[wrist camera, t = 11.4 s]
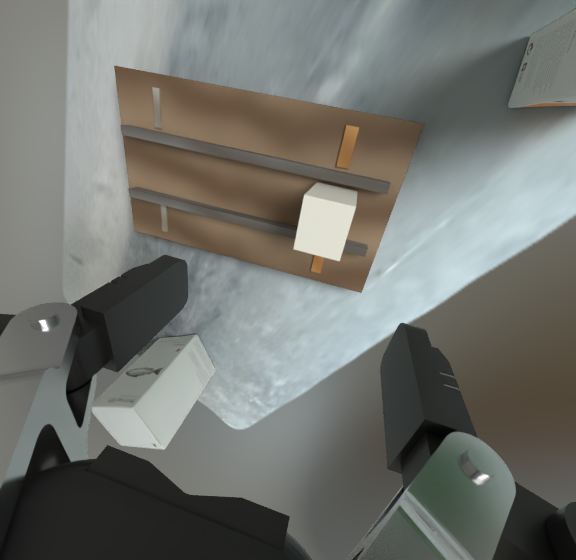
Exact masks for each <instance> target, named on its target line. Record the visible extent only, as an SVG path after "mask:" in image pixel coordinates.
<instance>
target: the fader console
mask: <svg viewBox="0 0 576 560" xmlns="http://www.w3.org/2000/svg"><path fill="white" fill-rule="evenodd" d="M114 68H115V76H116V84H117V92H118V100H119V108H120V116H121V124H122V125H121V130H122V135H123V140H124V148H125V156H126V164H127V172H128V180H129V188H130V189H129V193H130V197H131V204H132V212H133V220H134V228H135V231H138V232H141V233H145V234H149V235H152V236H156V237H160V238H163V239H167V240H171V241H174V242H178V243H182V244H185V245H189V246H192V247H196V248H200V249H203V250H207V251H211V252H214V253H218V254H222V255H225V256H229V257H232V258H236V259H240V260H243V261H247V262H251V263H254V264H258V265H262V266H265V267H269V268H273V269H276V270H280V271H283V272H287V273H291V274H294V275H298V276H302V277H305V278H309V279H313V280H316V281H320V282H324V283H327V284H331V285H334V286H338V287H342V288H345V289H349V290H353V291H356V292H360V293H361V292H362V290H363V287H364V284H365V282H366V279H367V276H368V274H369V271H370V268H371V266H372V263H373V260H374V258H375V255H376V252H377V250H378V247H379V244H380V242H381V239H382V236H383V233H384V231H385V228H386V225H387V223H388V220H389V217H390V215H391V212H392V209H393V207H394V204H395V201H396V199H397V196H398V193H399V191H400V188H401V185H402V183H403V180H404V177H405V174H406V172H407V169H408V166H409V164H410V161H411V158H412V156H413V153H414V150H415V148H416V145H417V142H418V140H419V137H420V134H421V132H422V129H423V126H424V124H422V123H417V122H411V121H406V120H401V119H395V118H390V117H385V116H379V115H374V114H369V113H363V112H358V111H353V110H347V109H342V108H337V107H331V106H326V105H321V104H315V103H310V102H305V101H299V100H294V99H289V98H284V97H278V96H273V95H268V94H262V93H257V92H252V91H246V90H241V89H236V88H230V87H225V86H220V85H214V84H209V83H204V82H198V81H193V80H188V79H182V78H177V77H172V76H167V75H161V74H156V73H151V72H145V71H140V70H135V69H129V68H124V67H119V66H114ZM317 182H320V183H324V184H329V185H333V186H338V187H342V188H347V189H351V190H355V191H358V193H357V203H356V209H355V212H354V216H353V219H352V222H351V226H350V229H349V232H348V236H347V239H346V242H345V245H344V249H343V252H342V255H341V259H340V261H336V260H333V259H329V258H325V257H321V256H317V255H313V254H310V253H306V252H302V251H298V250H294V243H295V238H296V233H297V228H298V223H299V218H300V213H301V208H302V203H303V198H304V194H305V193H306V192H308V191H309V190H310V189H311V188H312V187H313V186H314V185H315V184H316V183H317Z"/></svg>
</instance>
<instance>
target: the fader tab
mask: <svg viewBox="0 0 576 560" xmlns="http://www.w3.org/2000/svg"><path fill="white" fill-rule="evenodd" d="M357 193H358V191H355V190H351V189H347V188H342V187H338V186H333V185H329V184H324V183H320V182H317V183H316V184H315V185H314V186H313V187H312V188H311V189H310V190H309V191H308V192H306V193H305V194H304V198H303V203H302V208H301V213H300V218H299V223H298V228H297V233H296V238H295V243H294V250H298V251H302V252H306V253H310V254H313V255H317V256H321V257H325V258H329V259H333V260H336V261H340V259H341V255H342V252H343V249H344V245H345V242H346V239H347V236H348V232H349V229H350V226H351V222H352V219H353V216H354V212H355V209H356V203H357Z"/></svg>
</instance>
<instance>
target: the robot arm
mask: <svg viewBox="0 0 576 560" xmlns="http://www.w3.org/2000/svg"><path fill="white" fill-rule="evenodd" d="M187 298H188V274H187V263H186V261H185V260H182V259H178V258H175V257H171V256H168V255H163V256H161V257H159V258H158V259H156V260H155V261H153V262H151V263H150V264H145V265H142V266H138V267H135V268H132V269H131V270H129V271H127V272H126V273H124V274H122V275H121V277H117V278H115V279H114V280H112V281H111V283H107V284H105V285H104V286H102V287H100V288H98V289H97V290H95V291H93V292H92V293H90V294H88V295H87V296H85V297H83V298H81V299H80V300H78V301H76V302H75V303H73V304H71V305H70V304H66V303H46V304H41V305H37V306H34V307H31V308H28V309H26V310H24V311H22V312H20V313H18V314H17V315H8V314H0V560H312V559H311V557H310V556H309V555H308V553H307V552H306V550H305V549H304V548H303V547H302V546H301V545H300V544H299V543H298V542H297V541H296V540H295V539H294V538H293V537H292V536H291V535H290V534H288V533H287V527H288V522H289V516H287V515H284V514H282V513H279V512H277V511H274V510H272V509H269V508H267V507H264V506H261V505H259V504H256V503H254V502H251V501H249V500H246V499H243V498H237V497H236V498H235V497H218V496H198V495H189V494H186V493H184V492H183V491H182V490H181V489H179V488H178V487H177V486H176V485H175V484H174V483H173V482H172V481H170V480H169V479H168V478H167V477H166V476H165V475H164V474H163V473H161V472H160V471H159V470H158V469H157V468H156V467H155V466H153V464H151V463H150V462H149V461H147V460H144V459H141V458H139V457H136V456H134V455H131V454H128V453H126V452H124V451H121V450H118V449H116V448H113V447H111V446H108V445H107V447H106V448H105V449H104V450H103V451H102V452H101V454H100V455H99V456H98V457H97V459H88V450H87V433H88V427H89V422H90V416H91V411H92V405H93V400H94V394H95V389H96V383H97V376H96V373H97V372H98V371H99V370H100V369H101V368H103V367H104V368H106V369H109V370H112V371H115V372H118V371H120V370H121V369H122V368H123V367H124V366H125V365H126V364H127V363H128V362H129V361H130V359H132V358H133V357H134V356H135V355H136V354H137V353H138V352H139V351H140V350H141V349H142V348H143V347H144V346H145V345H146V344H147V343H148V342H149V341H150V340H151V339H152V338H153V337H154V336H155V335H156V334H157V333H158V332H159V331H160V330H162V329H163V328H164V327H165V326H166V325H167V324H168V323H169V322H170V321H171V320H172V319H173V318H174V317H175V316H176V315H177V314H178V313H179V312H180V311H181V310H182V309H183V307H184V306H185V304H186V302H187ZM380 372H381V386H382V399H383V414H384V428H385V441H386V454H387V468H388V469H389V470H392V471H395V472H398V473H401V474H402V479H403V487H402V488H401V489H400V490H399V491H398V493H397V494H396V495H395V497H394V498H393V499H392V501H391V502H390V504H389V505H388V506H387V507H386V509H385V510H384V511H383V513H382V514H381V515H380V517H379V518H378V519H377V521H376V522H375V523H374V525H373V526H372V527H371V529H370V530H369V531H368V533H367V534H366V535H365V537H364V538H363V539H362V540H361V542H360V543H359V544H358V546H357V547H356V548H355V549H354V551H353V552H352V553H351V554H350V556H349V557H348V558H347V559H346V560H576V502H572V503H570V504H568V505H566V506H564V507H563V508H561V509H558V508H556V507H555V506H553V505H552V504H550V503H548V502H547V501H545V500H543V499H542V498H540V497H539V496H537V495H535V494H534V493H532V492H530V491H529V490H527V489H526V488H524V487H522V486H521V485H519V484H518V483H516V482H515V481H514V480H513V477H512V475H511V473H510V471H509V469H508V467H507V466H506V464H505V463H504V462H503V460H502V459H501V458H500V457H499V456H498V454H497V453H496V452H495V451H494V450H493V449H491V448H490V447H489V446H488V445H486V444H485V443H484V442H483V441H481V440H480V439H478V438H477V435H476V432H475V430H474V427H473V424H472V422H471V419H470V416H469V414H468V411H467V408H466V406H465V403H464V400H463V398H462V395H461V392H460V391H458V389H459V387H458V384H457V382H456V379H454V374H453V371H452V368H451V366H450V363H449V362H448V360H447V359H446V358H445V356H444V355H443V354H442V353H441V352H440V350H439V349H438V348H434V347H431V344H430V341H429V338H428V334H427V332H426V330H425V329H422V328H419V327H415V326H412V325H408V324H405V323H401V324H400V325H399V326H398V327H397V329H396V331H395V333H394V336H393V337H392V339H391V341H390V343H389V345H388V347H387V349H386V351H385V353H384V356H383V358H382V362H381V371H380Z"/></svg>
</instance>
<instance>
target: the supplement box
mask: <svg viewBox="0 0 576 560" xmlns="http://www.w3.org/2000/svg"><path fill="white" fill-rule="evenodd" d="M215 371H216V370H215V368H214V366H213V364H212V362H211V360H210V358H209V356H208V354H207V352H206V350H205V348H204V346H203V344H202V342H201V340H200V339H199V337H198V335H197V334H195V335H188V336H180V337H167V338H159V339H158V340H157V341H156V342H155V343H154V344H153V345H152V346H151V347H149V348H148V349H147V350H146V351H145V352H144V353H143V354H142V355H141V356H140V357H139V358H138V359H137V360H136V361H135V362H134V363H133V364H132V365H131V366H130V367H129V368H128V369H127V370H126V371H125V372H124V373H123V374H122V375H121V376H120V377H119V378H118V379H117V380H116V381H115V382H114V383H113V384H112V385H111V386H110V387H109V388H108V389H106V391H104V392H103V393H102V394H101V395H100V396H99V397H98V398H97V399H96V400H95V401H94V402H93V405H92V412H93V414H94V415H95V416H96V417H97V419H98V420H99V421H100V422H101V423H102V425H103V426H104V427H105V428H106V429H107V430H108V432H109V433H110V434H111V435H112V436H113V437H114V438H115V440H116V441H117V442H118V443H119V444H120V445H121V446H132V447H141V448H154V449H163V450H164V449H165V448H166V447H167V445H168V444H169V442H170V441H171V439H172V438H173V436H174V434H175V433H176V431H177V430H178V428H179V427H180V425H181V424H182V422H183V420H184V419H185V417H186V416H187V414H188V413H189V411H190V410H191V408H192V406H193V405H194V403H195V402H196V400H197V399H198V397H199V396H200V394H201V392H202V391H203V389H204V388H205V386H206V385H207V383H208V382H209V380H210V378H211V377H212V375H213V374H214V372H215Z"/></svg>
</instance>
